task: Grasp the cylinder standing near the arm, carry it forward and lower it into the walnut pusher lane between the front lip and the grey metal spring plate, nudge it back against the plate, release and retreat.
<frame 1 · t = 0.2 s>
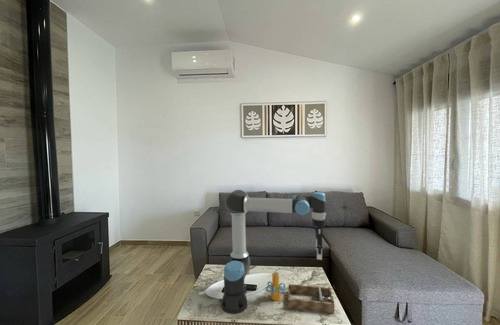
hand: (318, 254, 136), 28 cm above the table, fingers open, 13 cm apart
lane: (309, 301, 136), on the table
pusher: (326, 298, 134), point 3 cm above the table, slide at 0.0 cm
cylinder: (275, 298, 139), on the table
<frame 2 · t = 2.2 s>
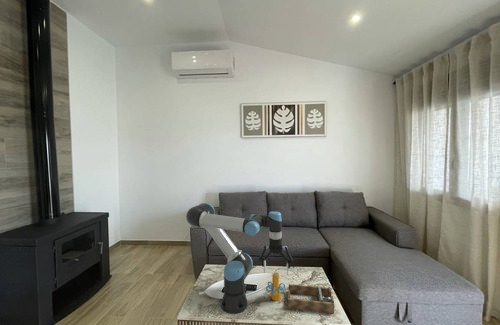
hand: (276, 272, 139), 16 cm above the table, fingers open, 13 cm apart
nothing on the table moved.
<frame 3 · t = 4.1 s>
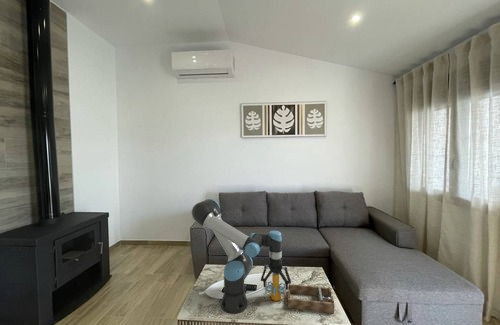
hand: (275, 293, 139), 3 cm above the table, fingers closed on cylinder, 11 cm apart
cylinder: (275, 298, 139), on the table, touching gripper
everything else where it was.
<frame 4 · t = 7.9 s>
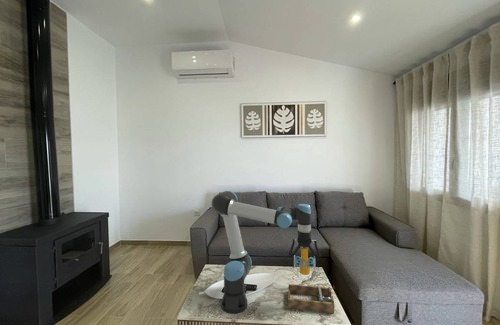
hand: (304, 267, 136), 20 cm above the table, fingers closed on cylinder, 11 cm apart
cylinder: (304, 273, 136), point 17 cm above the table, touching gripper
everything else where it was.
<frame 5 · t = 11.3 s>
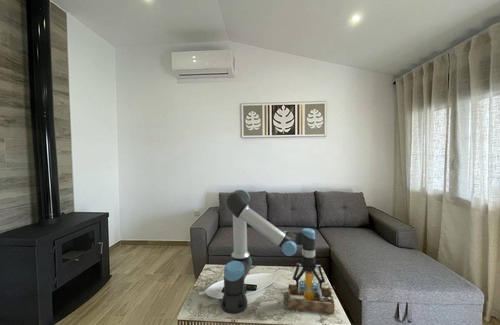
hand: (308, 292, 136), 5 cm above the table, fingers closed on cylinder, 11 cm apart
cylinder: (308, 297, 136), point 2 cm above the table, touching gripper
everything else where it was.
when the fingers open (5 cm above the table, at t = 12.0 s): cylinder drops 2 cm, resting in lane.
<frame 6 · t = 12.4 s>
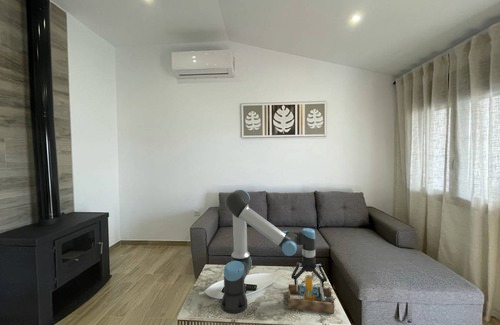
hand: (308, 291, 136), 6 cm above the table, fingers open, 13 cm apart
pusher: (328, 298, 134), point 3 cm above the table, slide at 1.1 cm
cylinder: (308, 301, 136), resting in lane
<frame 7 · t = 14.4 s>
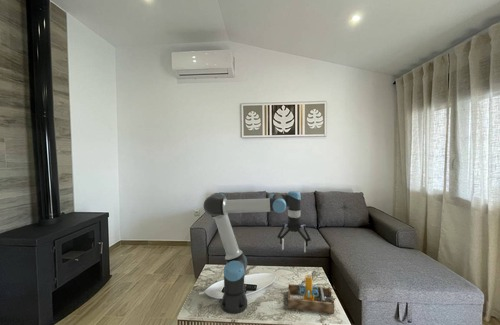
hand: (293, 250, 143), 27 cm above the table, fingers open, 13 cm apart
nothing on the table moved.
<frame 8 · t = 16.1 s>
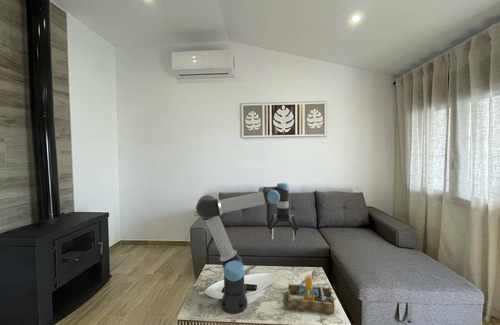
hand: (283, 239, 150), 32 cm above the table, fingers open, 13 cm apart
nothing on the table moved.
at the end: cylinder inside the target area (1.5 cm from its centre), resting in lane; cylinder tilted 0°; the gripper is holding nothing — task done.
